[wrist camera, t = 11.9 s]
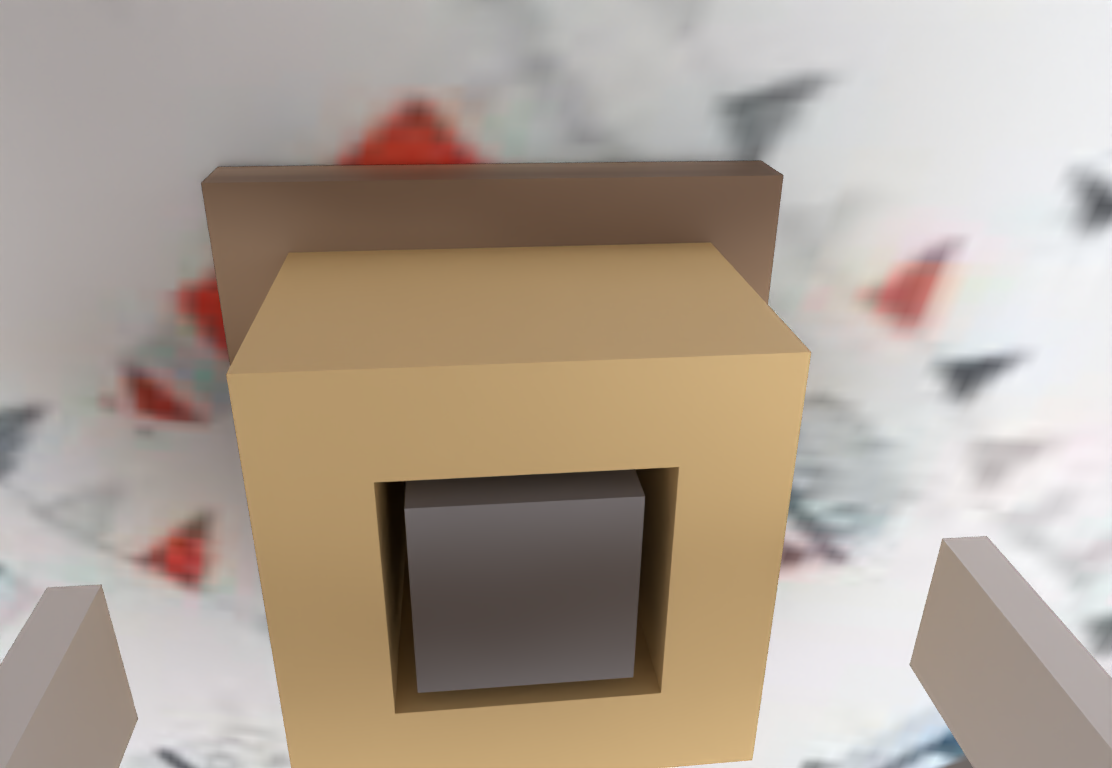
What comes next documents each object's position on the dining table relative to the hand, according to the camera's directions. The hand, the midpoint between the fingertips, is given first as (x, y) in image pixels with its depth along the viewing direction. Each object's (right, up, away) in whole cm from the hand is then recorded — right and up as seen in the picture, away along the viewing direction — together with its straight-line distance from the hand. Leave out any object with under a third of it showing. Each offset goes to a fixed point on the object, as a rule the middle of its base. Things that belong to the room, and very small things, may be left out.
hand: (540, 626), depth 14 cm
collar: (-1, +3, +7) cm, 7 cm away
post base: (-1, +3, +8) cm, 9 cm away
